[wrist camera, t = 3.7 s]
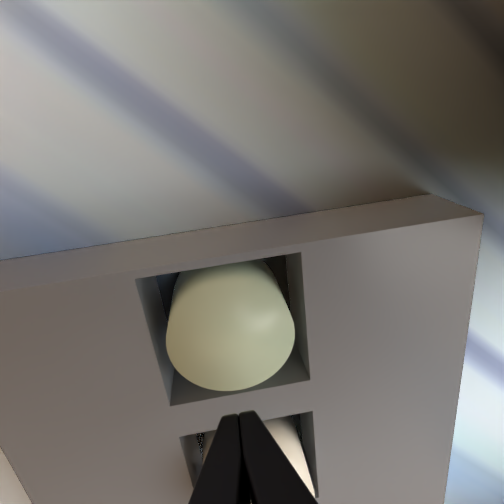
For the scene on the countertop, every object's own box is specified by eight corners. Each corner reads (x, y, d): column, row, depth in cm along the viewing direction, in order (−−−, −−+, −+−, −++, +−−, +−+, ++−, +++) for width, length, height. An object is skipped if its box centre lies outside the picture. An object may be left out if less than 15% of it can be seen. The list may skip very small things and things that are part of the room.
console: (431, 193, 15) (484, 214, 12) (407, 503, 22) (435, 559, 20) (-22, 263, 13) (-80, 304, 11) (118, 566, 21) (106, 634, 18)
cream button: (292, 394, 16) (311, 455, 13) (299, 462, 18) (317, 528, 15) (194, 413, 16) (192, 479, 13) (211, 480, 17) (212, 551, 15)
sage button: (273, 240, 14) (289, 272, 11) (282, 331, 16) (299, 378, 13) (162, 258, 14) (152, 295, 11) (184, 349, 16) (180, 400, 13)
